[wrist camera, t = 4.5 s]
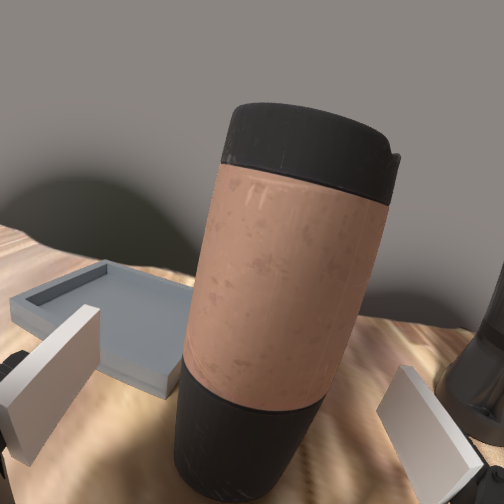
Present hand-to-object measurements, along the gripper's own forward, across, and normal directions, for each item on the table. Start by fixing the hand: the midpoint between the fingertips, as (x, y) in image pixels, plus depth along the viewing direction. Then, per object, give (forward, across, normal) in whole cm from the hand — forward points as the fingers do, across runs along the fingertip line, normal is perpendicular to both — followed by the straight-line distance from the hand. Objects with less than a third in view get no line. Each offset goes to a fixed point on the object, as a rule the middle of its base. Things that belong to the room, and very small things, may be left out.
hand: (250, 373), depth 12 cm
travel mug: (+3, +1, -10) cm, 11 cm away
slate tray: (+18, -12, -10) cm, 24 cm away
